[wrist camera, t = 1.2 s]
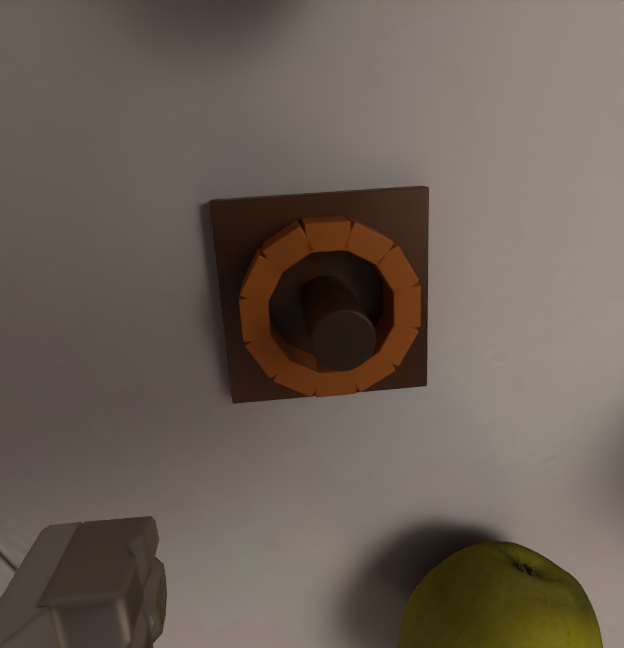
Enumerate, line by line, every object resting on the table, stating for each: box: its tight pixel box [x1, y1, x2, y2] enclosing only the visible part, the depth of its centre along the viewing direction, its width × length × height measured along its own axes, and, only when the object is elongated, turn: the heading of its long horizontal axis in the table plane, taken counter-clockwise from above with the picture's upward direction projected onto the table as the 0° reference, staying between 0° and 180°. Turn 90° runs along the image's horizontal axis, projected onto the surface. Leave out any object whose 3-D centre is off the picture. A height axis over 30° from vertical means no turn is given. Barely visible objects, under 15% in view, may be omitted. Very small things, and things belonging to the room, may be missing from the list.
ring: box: [239, 215, 421, 397], centre depth 20 cm, size 6×6×2 cm
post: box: [210, 186, 429, 404], centre depth 19 cm, size 8×8×6 cm
